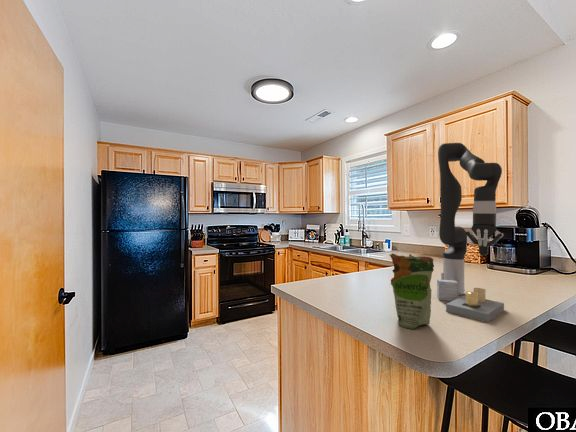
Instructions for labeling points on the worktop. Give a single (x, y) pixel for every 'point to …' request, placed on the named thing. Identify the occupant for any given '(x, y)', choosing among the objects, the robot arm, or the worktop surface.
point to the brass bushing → (472, 299)
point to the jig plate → (483, 313)
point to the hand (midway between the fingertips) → (483, 255)
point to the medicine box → (447, 290)
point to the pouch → (412, 289)
